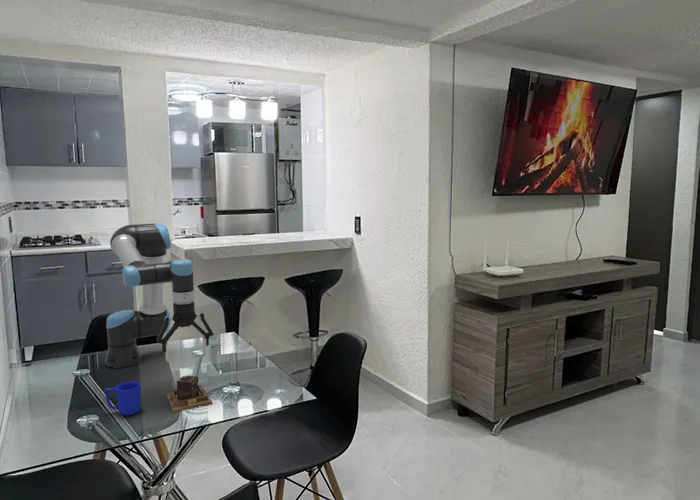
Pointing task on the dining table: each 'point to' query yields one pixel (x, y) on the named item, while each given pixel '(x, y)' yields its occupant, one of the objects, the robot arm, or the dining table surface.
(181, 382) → the box
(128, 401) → the mug
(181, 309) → the robot arm
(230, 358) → the dining table surface
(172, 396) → the brown tray
